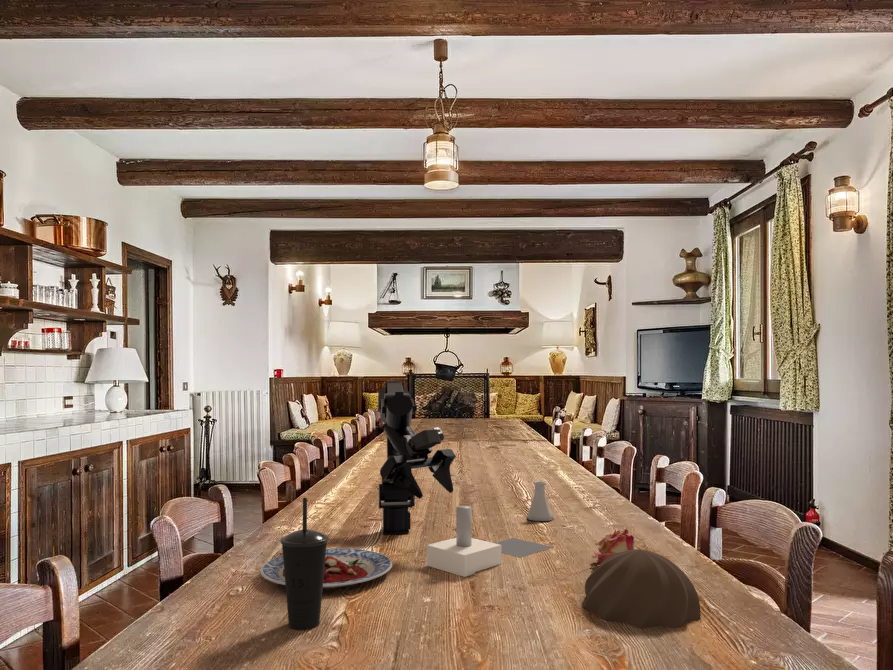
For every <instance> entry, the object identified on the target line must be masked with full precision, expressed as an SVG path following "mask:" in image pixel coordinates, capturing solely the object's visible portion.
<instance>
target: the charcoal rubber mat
mask: <svg viewBox="0 0 893 670" xmlns="http://www.w3.org/2000/svg"><path fill="white" fill-rule="evenodd" d="M494 543H495V544H499V545H501V554H504V555H508V556H512V557H515V558H516V557H517V558H524V557H528V556H530V555H533V554H536V553H539V552H543V551H546V550H549V549H553V548H554V546H551V545H546V544H542V543H538V542H537V543H536V542H533V541H530V540H523V539H519V538H517V537H516V538H515V537H512V538H508V539H504V540H500V541H497V542H494Z"/></svg>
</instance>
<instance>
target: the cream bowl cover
mask: <svg viewBox="0 0 893 670" xmlns="http://www.w3.org/2000/svg"><path fill="white" fill-rule="evenodd" d="M455 509H456V511H455V518H456V519H455V521H456V523H455V526H456V528H455V532H456V533H455V537H454V538H450V539H445V540H441V541H437V542H433V543H430V544H426V566H427V567H430V568H433V569H437V570H441V571H444V572H447V573H450V574H454V575H457V576H459V577H460V576H461V577H463V578H466V577H469V576H472V575H476V574H477V572H479V571H482V570H485V569H489V568H492V567H495V566H499V565H502V553H501V545H499V544H495V543H496V542H491V541H486V540H482V539H477V538H473V535H472V533H473V532H472V530H473V528H472V527H473V526H472V523H473V522H472V519H473V518H472V517H473V516H472V514H473V513H472V511H473V510H472V509H473V508H472V506H470V505H457V506H456V508H455Z"/></svg>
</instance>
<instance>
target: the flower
mask: <svg viewBox="0 0 893 670" xmlns="http://www.w3.org/2000/svg"><path fill="white" fill-rule="evenodd" d="M634 538H635V537H634V536H633V534H632V533H631V532H630V531H629V530H628V529H627V528H625V529H623V530H622V531H620V530H619V529H618V530H617V528H616V527H615V529H614V531H613V533H612V534H611V533H610V534H607V535H605V536H604V537H603V538H601V539H600V540H599V541H597V543H595V546H598V548H597V550H598V551H597V552H593V553H592V554H591V558H593V559H596V558H597V560H596V563H597V564H598V566H600V564H601V563H602V562H603V561H604V560H605V559H607V558H608V557H610V556H612V555H614V554H616V553H619V552H623V551H627V550H633V549H634V544H635V542H634V541H635V540H634Z"/></svg>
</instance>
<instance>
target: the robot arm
mask: <svg viewBox="0 0 893 670" xmlns="http://www.w3.org/2000/svg"><path fill="white" fill-rule="evenodd" d="M404 385H405V383H404V381H402V380H387V381H385V382H384V386H383V387H382V388H381V389H380V390H378V392H377V411H378V412H380V420H381V422H383V424H384V427H383V432H384V433H385V435H386V460H385V461H384V463H383V464H382V466H381V467H380V469H379V475H380V476H381V483H378V510H379V509H380V510H381V509H382V526H381V532H382V535H396V534H397V535H398V534H399V535H401V534H409V533H410V530H411V512H410V510H409V508H410V509H411V508H413V507H415V497H416V498H418V499H422V498H423V497H424V494H423V492H422V489H421V488H420V486H419V484H418V482H417V480H416V479H415V476H414V475H413V473H412V472H413V471H412V470H417V469H423V468H424V469H425V468H428V470H429V472H431V474H432V477H433V478H434V479H435V480H436V481H437V482H438V483H439V484H440V485H441V486H442V487H443V488H444V489H445V490H446V491H447V492H448V493H450V494H452V493H453V492H454V484H453V482H452V475H451V464H453V462H454V460H455V459H456V458H457V456H456V454H455V452H454V451H453V449H451V448H444V449H437V450H436V451H435V452H434V454H433V456H430V457H429V454H431V453H432V452H433V449H432V448H433V447H435V446H436V445H440V444H441V443H442V441H444V440H445V435H444V432H443V431H442V429H441V428H440V427H433V428H432V429H423V430H422V431H419V432H417V433H415V432H414V430H413V428H412V427H411V424H412V418H413V417H412V416H413V414H415V413H416V412H417V411H418V405H417V403H415V402H416V401H415V400H414V398H411V394H410V392H409V390H408V389H406V388H405V386H404Z"/></svg>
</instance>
